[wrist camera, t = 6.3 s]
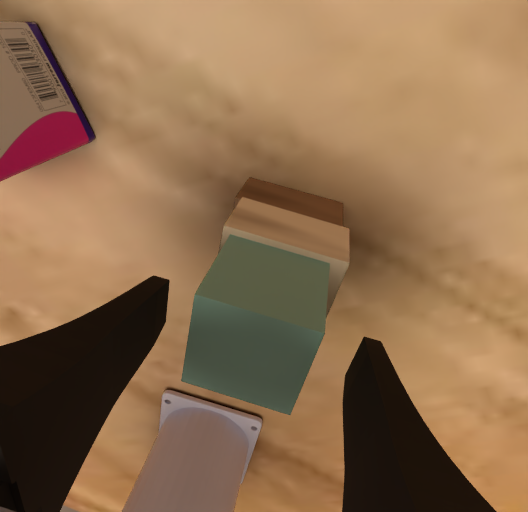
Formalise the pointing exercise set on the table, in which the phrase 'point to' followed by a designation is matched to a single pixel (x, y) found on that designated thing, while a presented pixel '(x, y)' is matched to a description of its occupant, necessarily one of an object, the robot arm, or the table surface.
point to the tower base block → (292, 201)
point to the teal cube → (257, 324)
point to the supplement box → (34, 102)
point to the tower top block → (293, 236)
